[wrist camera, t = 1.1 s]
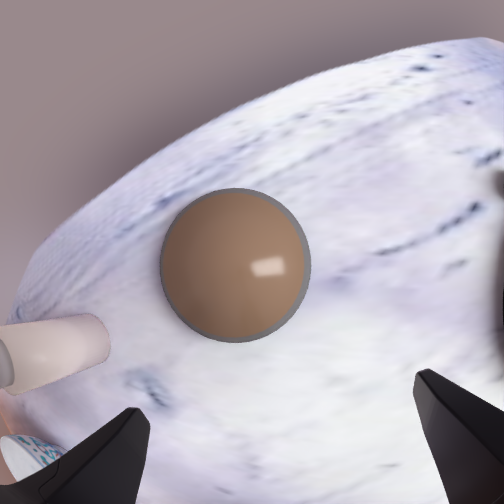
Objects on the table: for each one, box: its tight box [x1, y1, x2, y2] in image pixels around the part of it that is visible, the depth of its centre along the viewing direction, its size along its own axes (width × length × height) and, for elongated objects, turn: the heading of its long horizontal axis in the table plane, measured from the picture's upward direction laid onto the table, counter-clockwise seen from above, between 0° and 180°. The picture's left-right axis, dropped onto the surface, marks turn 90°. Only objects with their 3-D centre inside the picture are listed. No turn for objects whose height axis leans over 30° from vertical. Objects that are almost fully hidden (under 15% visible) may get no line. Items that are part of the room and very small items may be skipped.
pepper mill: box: [0, 314, 111, 396], centre depth 18 cm, size 5×5×13 cm
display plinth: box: [160, 188, 311, 343], centre depth 21 cm, size 12×12×2 cm
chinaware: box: [0, 435, 67, 482], centre depth 20 cm, size 15×15×8 cm
